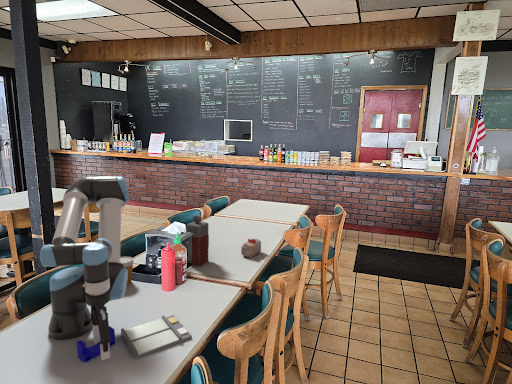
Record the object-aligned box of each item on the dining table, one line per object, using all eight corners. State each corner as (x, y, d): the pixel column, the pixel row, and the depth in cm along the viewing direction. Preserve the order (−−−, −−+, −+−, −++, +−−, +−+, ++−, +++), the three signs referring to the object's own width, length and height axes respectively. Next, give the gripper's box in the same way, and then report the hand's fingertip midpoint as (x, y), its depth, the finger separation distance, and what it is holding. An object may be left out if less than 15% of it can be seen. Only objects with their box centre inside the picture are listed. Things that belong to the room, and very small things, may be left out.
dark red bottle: (210, 259, 204) (210, 213, 199) (199, 266, 194) (199, 218, 189) (198, 256, 208) (197, 211, 202) (186, 263, 198) (186, 215, 193)
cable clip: (84, 363, 116) (83, 347, 115) (77, 357, 118) (76, 341, 117) (117, 345, 125) (116, 330, 124) (110, 340, 128) (109, 326, 127)
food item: (251, 259, 207) (252, 243, 205) (240, 256, 210) (240, 241, 208) (262, 252, 219) (262, 237, 217) (251, 249, 222) (251, 235, 220)
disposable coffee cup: (126, 276, 179) (124, 254, 177) (138, 281, 175) (137, 258, 172) (110, 283, 171) (108, 260, 169) (122, 288, 166) (121, 265, 164)
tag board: (121, 334, 132) (120, 328, 131) (173, 317, 144) (173, 312, 143) (135, 359, 118) (135, 353, 118) (191, 338, 130) (191, 332, 130)
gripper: (78, 280, 123) (83, 337, 127) (93, 308, 105) (97, 373, 109) (101, 275, 127) (105, 330, 132) (119, 301, 109) (122, 364, 114)
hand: (101, 349), depth 120 cm, fingers open, 10 cm apart
